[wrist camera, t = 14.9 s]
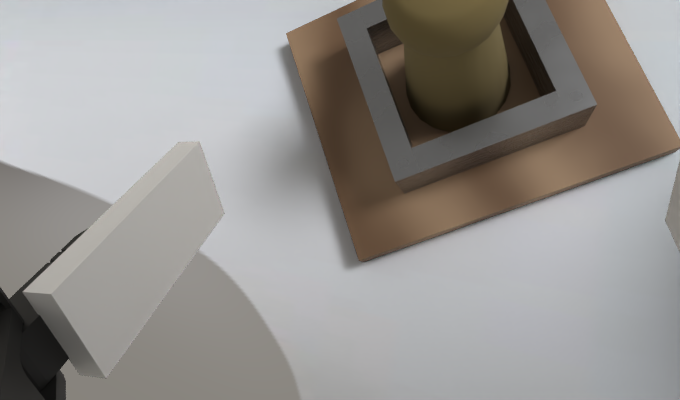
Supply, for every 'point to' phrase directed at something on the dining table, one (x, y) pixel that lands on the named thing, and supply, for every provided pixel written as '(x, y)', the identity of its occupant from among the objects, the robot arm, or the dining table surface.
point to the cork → (452, 58)
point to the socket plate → (481, 137)
